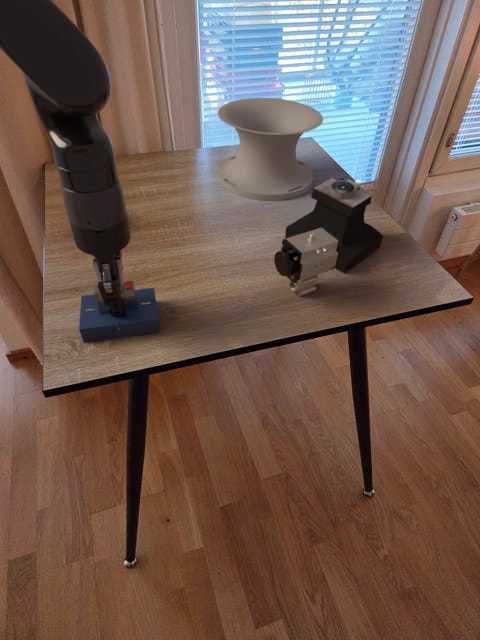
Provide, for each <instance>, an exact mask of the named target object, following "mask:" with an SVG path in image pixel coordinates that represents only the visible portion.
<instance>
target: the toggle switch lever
mask: <svg viewBox="0 0 480 640" xmlns="http://www.w3.org/2000/svg"><path fill="white" fill-rule="evenodd" d="M97 285H98V284H95V285H94V286H93V288H94V289H93V295H95V299H96V303H97V306H98V310H99V313H107V312H110V308H109V305H108V306H105V304H104V301H103V298H102V296H101V293H100V291H99V288H98V286H97ZM121 289H122V294H123V296H124V297H123V301H124V306H125V310H132V309H138V306H137V297H136V292H135V290H136V287H135V282H134V280H126V281H123V286H122V287H121Z"/></svg>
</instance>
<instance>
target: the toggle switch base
mask: <svg viewBox="0 0 480 640" xmlns="http://www.w3.org/2000/svg"><path fill="white" fill-rule="evenodd" d="M135 292H136V297H137V306H138V309H132V310H125V313H126V314H125V315H124V316H118V317H112V316H111V312H107V313H99V310H98V306H97V303H96V299H95V295H94V294H85V295H81V297H80V310H79V325H78V330H79V334H80V336H81V340H82V343H91V342H96V341H97V342H98V341H105V340H112V339H120V338H129V337H136V336H143V335H149V334H150V335H151V334H152V335H153V334H159V333H160V330H161V329H160V323H159V316H158V306H157V298H156V291H155V287H149V288H139V289H135Z"/></svg>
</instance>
